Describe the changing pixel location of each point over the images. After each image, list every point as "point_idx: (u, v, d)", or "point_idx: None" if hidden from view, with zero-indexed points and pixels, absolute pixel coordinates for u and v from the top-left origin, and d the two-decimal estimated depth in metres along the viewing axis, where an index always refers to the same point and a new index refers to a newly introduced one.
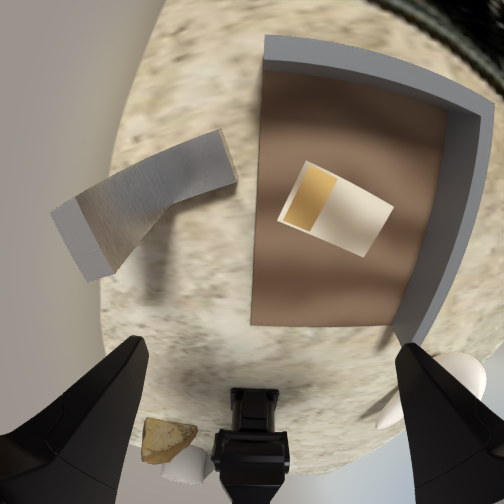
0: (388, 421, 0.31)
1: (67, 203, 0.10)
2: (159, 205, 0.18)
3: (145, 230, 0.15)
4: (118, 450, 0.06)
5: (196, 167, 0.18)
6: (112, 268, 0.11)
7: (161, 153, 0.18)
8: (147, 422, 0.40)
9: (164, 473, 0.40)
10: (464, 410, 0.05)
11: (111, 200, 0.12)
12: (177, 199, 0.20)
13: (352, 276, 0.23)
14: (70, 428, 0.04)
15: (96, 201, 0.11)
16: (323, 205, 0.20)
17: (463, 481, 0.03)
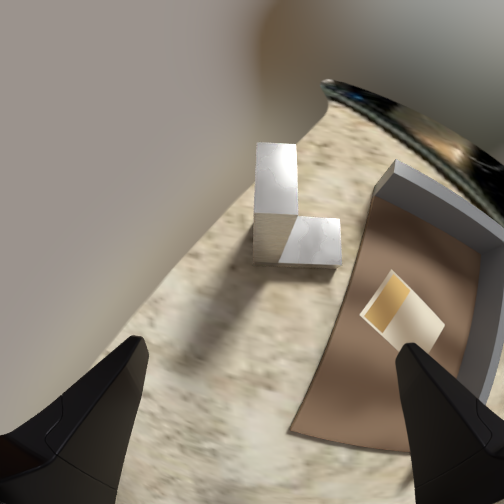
0: None
1: (284, 144, 0.13)
2: None
3: (286, 240, 0.16)
4: (118, 450, 0.06)
5: (313, 240, 0.22)
6: (297, 210, 0.12)
7: None
8: None
9: None
10: (464, 410, 0.05)
11: None
12: (285, 260, 0.21)
13: None
14: (69, 427, 0.04)
15: None
16: (397, 311, 0.21)
17: (463, 481, 0.03)
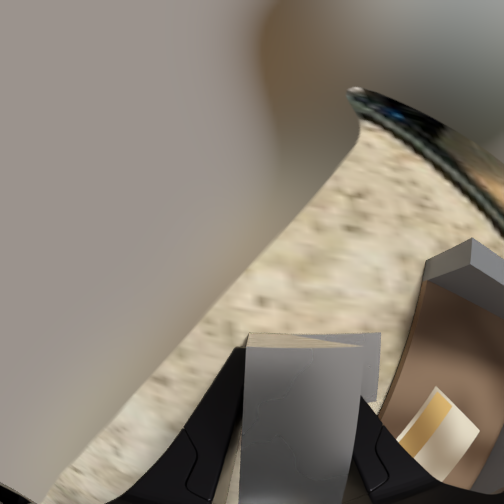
0: None
1: (331, 352, 0.04)
2: None
3: None
4: (231, 471, 0.06)
5: None
6: None
7: (303, 336, 0.13)
8: None
9: None
10: (360, 438, 0.05)
11: None
12: None
13: None
14: (209, 464, 0.04)
15: None
16: (432, 434, 0.12)
17: None
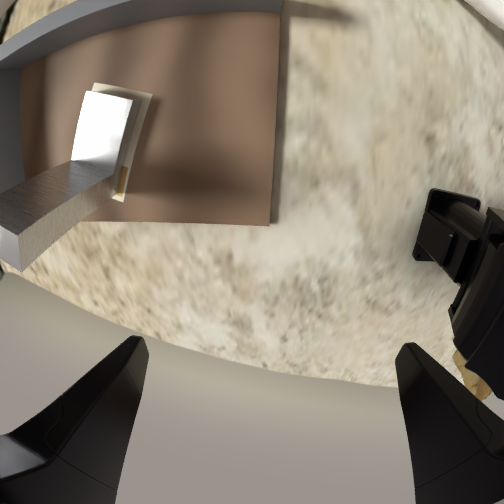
0: None
1: None
2: (90, 179, 0.14)
3: (67, 198, 0.12)
4: (118, 450, 0.06)
5: (99, 128, 0.15)
6: (14, 233, 0.08)
7: (74, 150, 0.15)
8: (455, 361, 0.27)
9: None
10: (464, 410, 0.05)
11: (15, 196, 0.10)
12: (113, 165, 0.16)
13: (180, 99, 0.15)
14: (69, 427, 0.04)
15: None
16: None
17: (463, 481, 0.03)
